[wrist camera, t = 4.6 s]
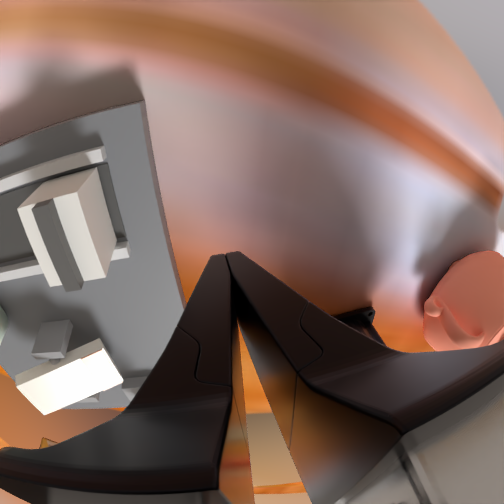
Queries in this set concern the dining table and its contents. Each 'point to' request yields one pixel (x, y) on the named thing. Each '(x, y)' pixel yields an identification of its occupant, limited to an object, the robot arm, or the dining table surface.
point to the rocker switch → (69, 377)
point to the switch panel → (121, 265)
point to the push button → (3, 324)
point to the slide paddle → (70, 229)
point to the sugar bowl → (467, 304)
